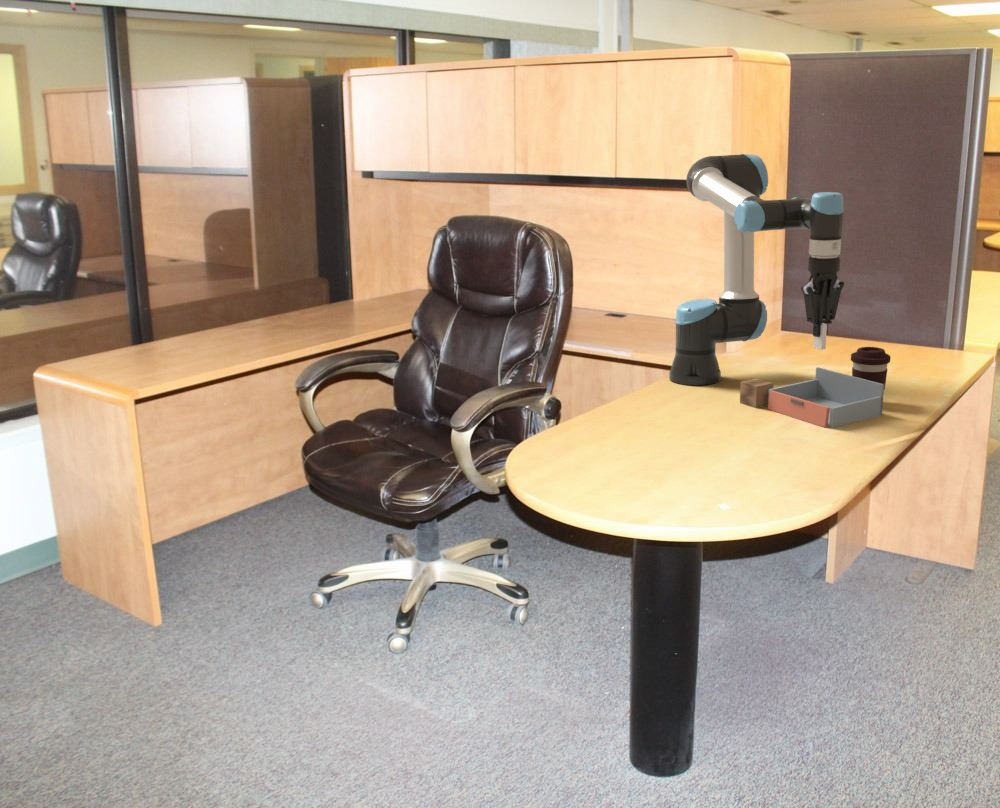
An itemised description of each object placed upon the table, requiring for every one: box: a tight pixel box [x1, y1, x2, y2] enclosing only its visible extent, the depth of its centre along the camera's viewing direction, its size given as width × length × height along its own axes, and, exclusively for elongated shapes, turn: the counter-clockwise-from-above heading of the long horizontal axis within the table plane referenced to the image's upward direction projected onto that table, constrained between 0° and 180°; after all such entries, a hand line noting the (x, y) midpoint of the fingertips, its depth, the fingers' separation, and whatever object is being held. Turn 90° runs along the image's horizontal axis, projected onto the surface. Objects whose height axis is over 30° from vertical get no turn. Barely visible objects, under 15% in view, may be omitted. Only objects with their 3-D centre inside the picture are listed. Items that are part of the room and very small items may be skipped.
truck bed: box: [768, 366, 885, 429], centre depth 264 cm, size 22×18×9 cm
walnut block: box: [739, 378, 774, 409], centre depth 273 cm, size 6×6×7 cm
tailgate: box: [767, 390, 830, 428], centre depth 260 cm, size 20×1×5 cm, turn 30°
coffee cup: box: [850, 346, 892, 390], centre depth 272 cm, size 10×10×15 cm
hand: (819, 348), depth 259 cm, fingers closed
